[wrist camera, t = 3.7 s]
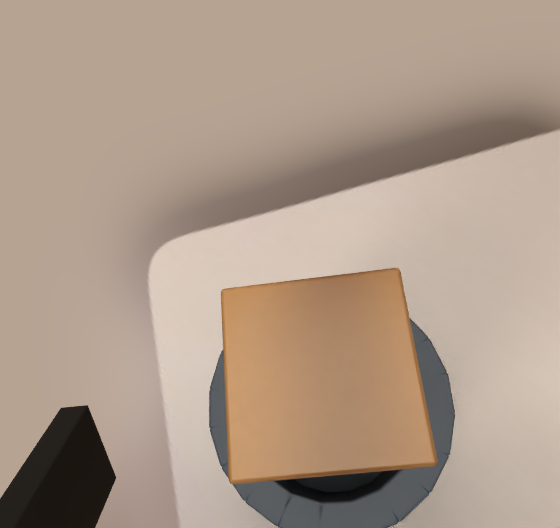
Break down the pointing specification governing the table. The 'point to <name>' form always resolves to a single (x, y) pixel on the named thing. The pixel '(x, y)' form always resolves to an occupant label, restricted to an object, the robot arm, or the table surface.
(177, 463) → the table surface
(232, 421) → the wooden block
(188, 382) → the table surface
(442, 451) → the jar
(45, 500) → the robot arm
